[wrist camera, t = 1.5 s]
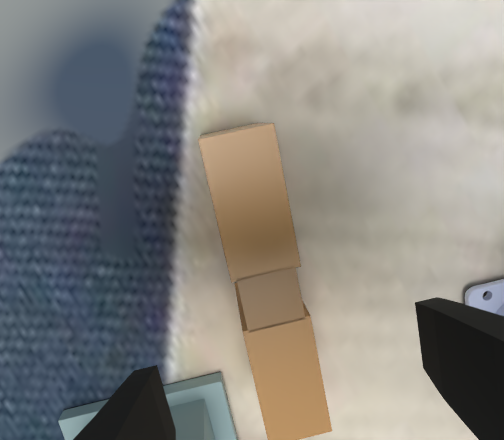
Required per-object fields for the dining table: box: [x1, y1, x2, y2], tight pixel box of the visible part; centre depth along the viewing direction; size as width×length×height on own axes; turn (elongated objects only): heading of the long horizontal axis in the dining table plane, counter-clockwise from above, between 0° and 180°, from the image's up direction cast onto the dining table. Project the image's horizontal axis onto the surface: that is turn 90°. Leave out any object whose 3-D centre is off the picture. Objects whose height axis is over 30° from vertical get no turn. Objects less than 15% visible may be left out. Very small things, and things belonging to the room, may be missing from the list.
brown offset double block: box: [198, 123, 332, 440], centre depth 18 cm, size 3×12×5 cm, turn 12°
